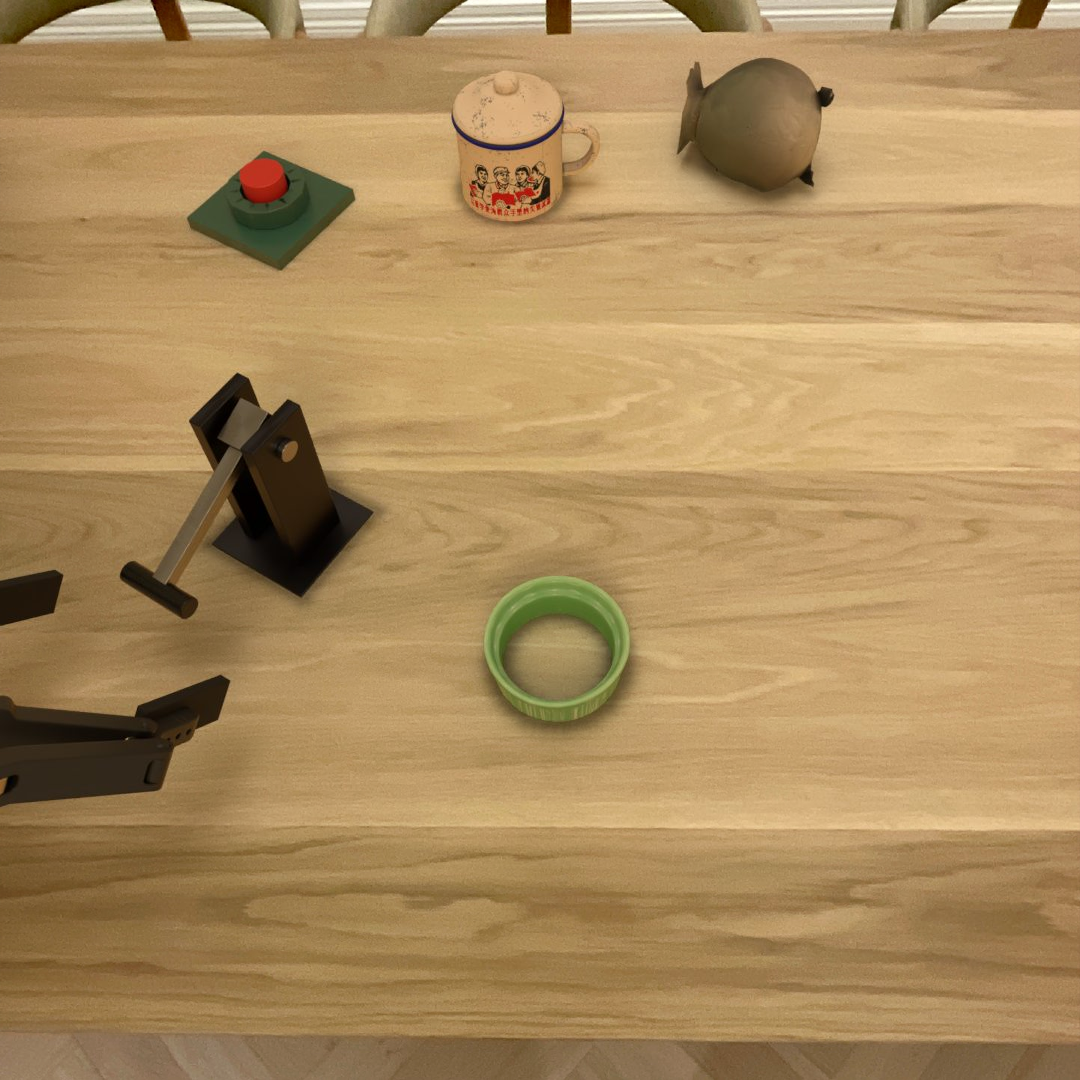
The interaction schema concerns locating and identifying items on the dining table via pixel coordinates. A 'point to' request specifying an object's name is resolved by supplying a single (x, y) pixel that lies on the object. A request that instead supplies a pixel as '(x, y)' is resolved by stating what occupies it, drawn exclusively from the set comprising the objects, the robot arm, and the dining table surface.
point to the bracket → (278, 494)
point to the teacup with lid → (515, 145)
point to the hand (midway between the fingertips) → (134, 642)
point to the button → (263, 181)
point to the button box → (273, 214)
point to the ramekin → (556, 599)
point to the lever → (198, 518)
